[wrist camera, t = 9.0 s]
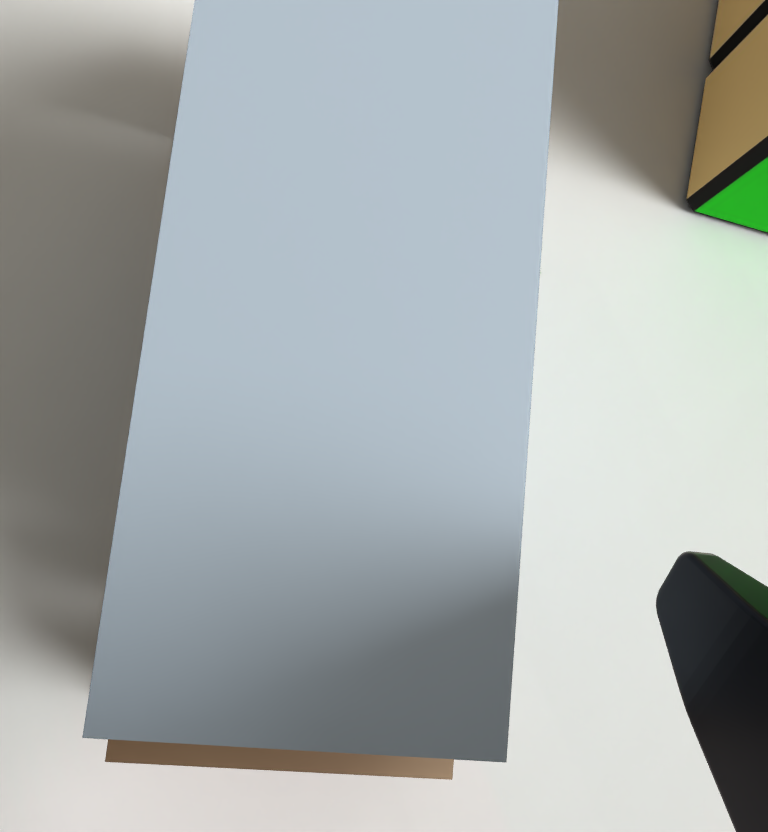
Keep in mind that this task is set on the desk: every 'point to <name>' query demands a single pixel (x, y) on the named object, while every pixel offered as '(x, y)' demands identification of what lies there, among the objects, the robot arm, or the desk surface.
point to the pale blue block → (335, 385)
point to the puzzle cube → (734, 120)
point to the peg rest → (276, 759)
